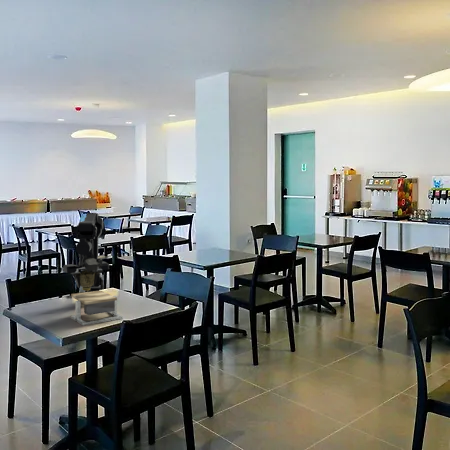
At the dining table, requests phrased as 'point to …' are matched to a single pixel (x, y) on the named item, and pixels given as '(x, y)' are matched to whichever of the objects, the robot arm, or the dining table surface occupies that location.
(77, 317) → the trapdoor frame
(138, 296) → the dining table surface
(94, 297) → the trapdoor
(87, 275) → the bronze domed piece
